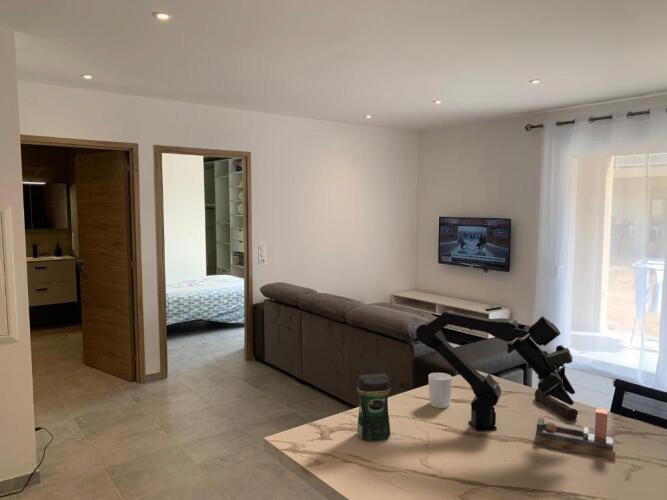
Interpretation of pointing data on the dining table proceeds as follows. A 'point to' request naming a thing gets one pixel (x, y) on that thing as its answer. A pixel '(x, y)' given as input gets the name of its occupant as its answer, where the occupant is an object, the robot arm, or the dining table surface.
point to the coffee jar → (373, 407)
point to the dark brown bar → (556, 405)
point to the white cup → (440, 389)
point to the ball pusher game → (572, 441)
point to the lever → (599, 429)
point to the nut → (550, 427)
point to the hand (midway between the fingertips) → (573, 398)
